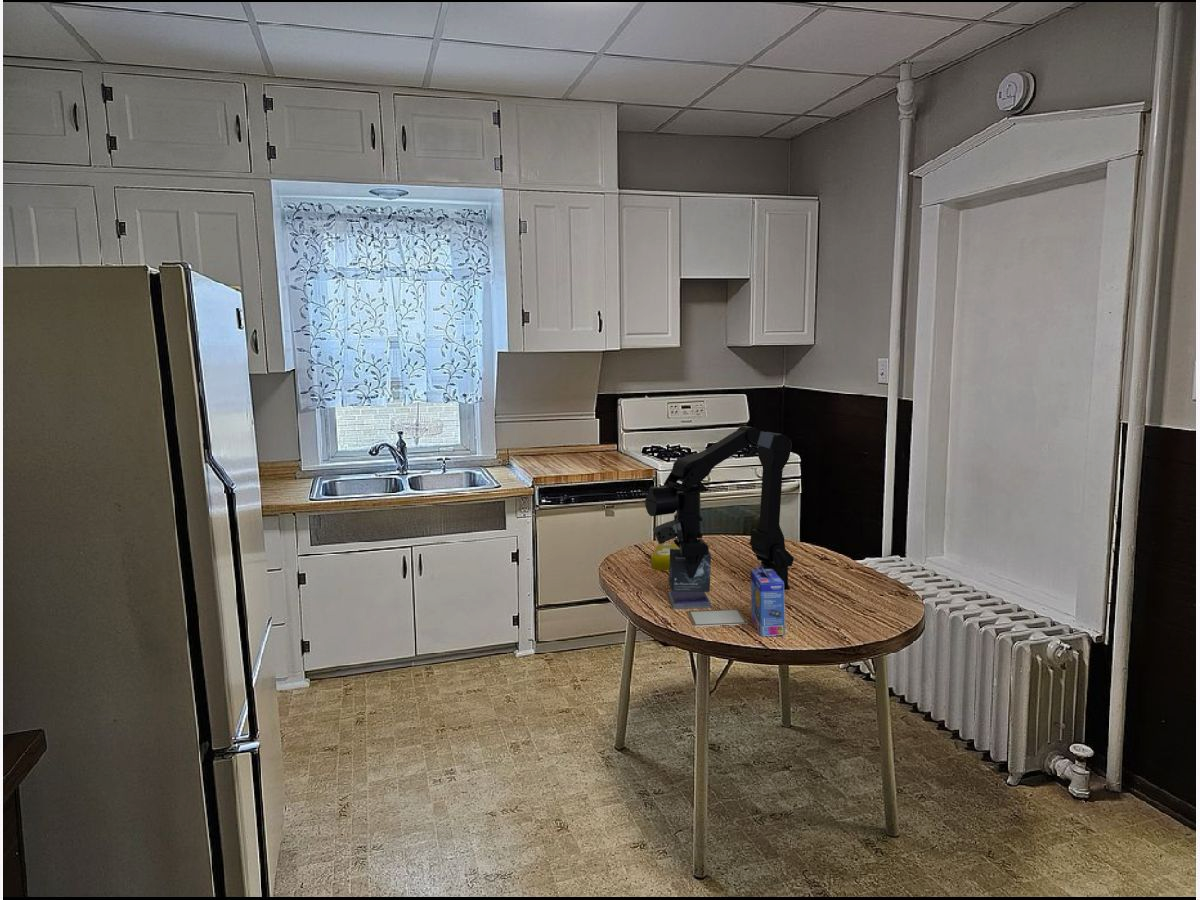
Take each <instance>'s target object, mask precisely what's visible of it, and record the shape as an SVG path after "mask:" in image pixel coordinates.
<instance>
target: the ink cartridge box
mask: <svg viewBox="0 0 1200 900" xmlns="http://www.w3.org/2000/svg"><path fill="white" fill-rule="evenodd" d="M757 564H758V566H759V567H760V568H761V569H759V568H754V569H753V568H752V569H750V596H751V597H750V599H751V600H750V601H751V603H750V606H751V607H750V608H751V610H750V611H751V622H752V623H754V624H753V625H754V627H755V629H756V628H757V629H756V631H757V632H758V634H759V636H760V637H761V636H767V637H777V636H776V635H785V636H786V617H785V616H786V615H785V614H786V612H785V589H784V582H783V580H782V579H781V578H780V577H779V576H778V575H777V574H776V572H775V571H774V570H773V569H763V568H762V567H761V563H759V562H758V563H757Z"/></svg>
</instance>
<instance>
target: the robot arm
mask: <svg viewBox="0 0 1200 900" xmlns="http://www.w3.org/2000/svg"><path fill="white" fill-rule="evenodd" d="M747 446H752V447H755V448H757V457H758V459H759V461H760V464H761V466H762V476H761V477H762V479H761V490H760V491H761V493H760V508H759V509H760V511H759V523H758V525H757V527H756V528H755V529H753V528H752V529H751V530H750V540H749V542H748V543H749V545H750V546H751V551H752V552H753V553H754V554H755V557H756V560H757V561H760V565H761V567H762V568H763V569H773V570H774V571H775V572H776V574H777V575H778V576H779V577H780V578H781V579H782V580H783V582H784V590H791V589H790V588H791V587H790V585H789V567H791V566H793V563H794V560H795V558H794V557H793V555H792V554H791V553H790V552H789V551H788V550H787V549H786V544H785V543H786V541H785V535H784V534H783V530H782V528H781V525H780V519H781V503H782V502H781V500H782V487H783V472H784V471H783V470H784V468H785V466H786V464H787V463H788V461H789V460H790V456H791V451H792V440H791V439H790V437H789V436H788V435H786V434H783V433H777V432H771V431H766V432H765V431H762V430H760V429H757V428H756V427H753V426H747V425H742V426H740V427H738V428H737V429H736V430H735V431H733V432H732V433H730V434H728V435H727V436H725V437H724V438H722V439H720V440H718V441H717V442H715V443H713V444H712V445H710V446H708V447H707V448H705V449H704V450H703V451H699V452H694V453H691V454H686V455H685V456H683V457H679V458H678V459H675V461H674V462H673V463H672V464H673V466H672V470H671V472H669V474H668V475H667V478H666V479H665V481H664V482H663V485H662V486H649V488H648V490H649V492H647V494H646V496H645V499H644V504H645V510H646V512H647V514H648V515H649V516H650V517H656V516H657V517H658V516H664V515H671V514H674V516H673V520H670V521H666V522H663V523H661V524H660V525H657V526H655V527H653V528H652V531H653V534H654V536H655V538H656V541H657V543H658V545H659V544H662V543H666V542H667V541H670V540H672V541H673V543H675V544H676V545H677V546H678V547H679V548H680V551H679V552H680V554H681V555H682V556H684V557H685V559H686V564H687V569H688V574H689V578H694V576H695V574H696V571H697V569H698V567H699V565H700V563H701V561H702V559H703V557H704V555H708V554H709V553H710V548H709V549H708V547H709V545H708V544H707V542H706V541H705V540H703V533H702V529H701V525H702V524H701V523H702V522H703V516H702V515H701V512H702V511H701V493H706V492H709V488H708V487H707V486H705V484H704V483H703V482H702V481H704V480H705V479H706V478H707V477H708V476H709V475H710V473H711V472H712V470H713V469H714V468H715V467H716V466H717V465H719V464H721V463H722V462H724V461H726V460H727V459H729V458H731V457H732V456H733V455H735V454H736V453H739V452H740V451H741V450H743V449H744V448H747ZM758 569H761V568H760V566H759V567H758Z"/></svg>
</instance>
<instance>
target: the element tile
mask: <svg viewBox="0 0 1200 900" xmlns="http://www.w3.org/2000/svg"><path fill="white" fill-rule="evenodd" d="M670 549H680V548H679V547H678V546H677V545H676V544H675V543H674V542H673V543H672V542H669V543H668V542H665V543H662V544H659V543H658V545H657V546H656V547H655V549H654V550H653V552H652V553H651V557H650V558H651V559H650V560H651V561H650V562H651V563H650V564H651V568H652V569H655V570H654V571H656V570H669V565H670ZM708 549H709V550H710V547H709V546H708ZM652 569H651V570H652Z"/></svg>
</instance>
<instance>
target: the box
mask: <svg viewBox="0 0 1200 900" xmlns="http://www.w3.org/2000/svg"><path fill="white" fill-rule="evenodd" d="M679 551H680V549H670V565H669V571H668V586H669V589H670V591H672V592H705V593H710V592H711V591H710V590H711V571H712V570H711V566H712V564H711V563H712V554H711V553H710V552H709V554H708V555H704V557H703V559H702V561H701V563H700V565H699V567H698V569H697V571H696V574H695V576H694V578H689V574H688V569H687V564H686V559H685V557H684V556H682V555H681V554H680V552H679Z"/></svg>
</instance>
